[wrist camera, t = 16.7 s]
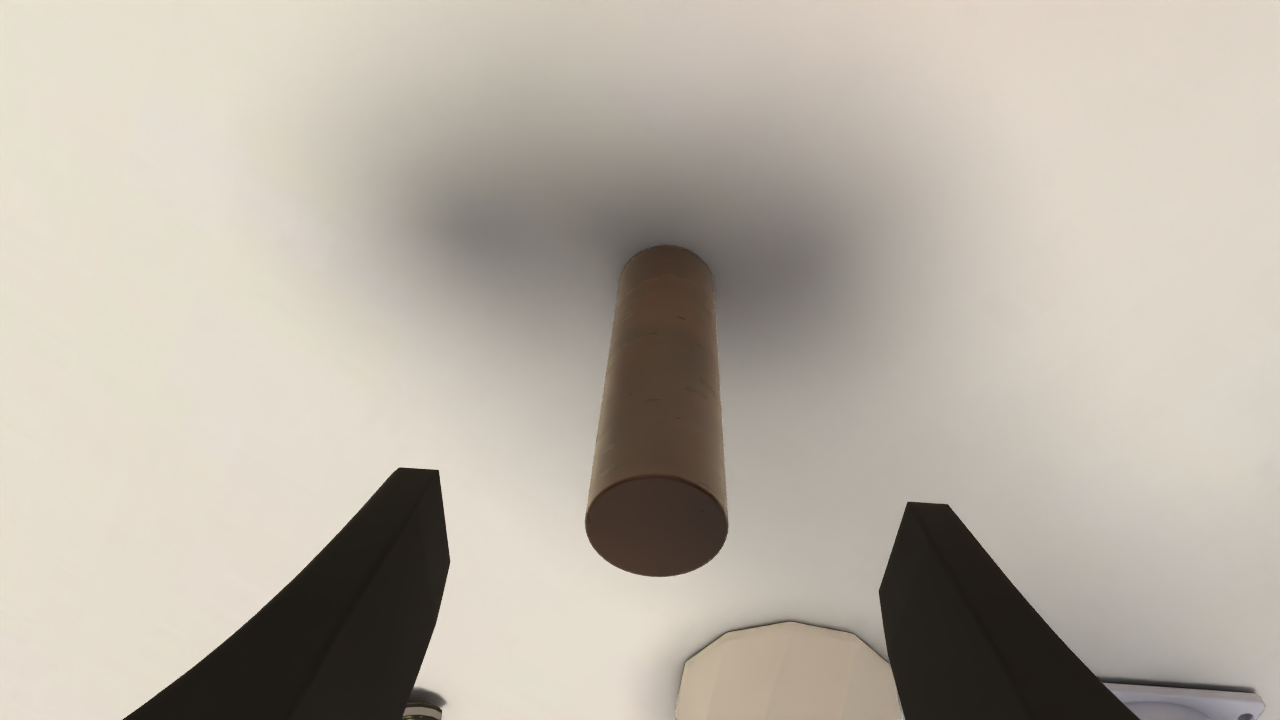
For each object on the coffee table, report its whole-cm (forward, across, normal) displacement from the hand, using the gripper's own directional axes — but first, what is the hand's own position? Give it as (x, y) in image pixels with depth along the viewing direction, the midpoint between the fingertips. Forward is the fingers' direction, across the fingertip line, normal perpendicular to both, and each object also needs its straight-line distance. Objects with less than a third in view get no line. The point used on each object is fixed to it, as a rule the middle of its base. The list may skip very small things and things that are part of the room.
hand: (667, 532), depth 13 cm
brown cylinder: (+10, 0, +1) cm, 10 cm away
